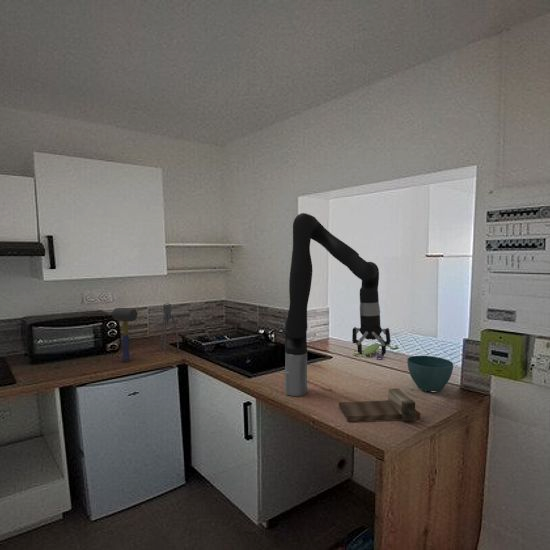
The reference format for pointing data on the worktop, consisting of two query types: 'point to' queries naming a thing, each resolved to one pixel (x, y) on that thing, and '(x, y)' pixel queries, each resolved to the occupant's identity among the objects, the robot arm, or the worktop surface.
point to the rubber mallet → (125, 327)
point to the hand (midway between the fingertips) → (371, 354)
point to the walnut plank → (370, 411)
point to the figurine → (374, 350)
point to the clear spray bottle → (166, 317)
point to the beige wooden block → (402, 404)
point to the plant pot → (430, 372)
